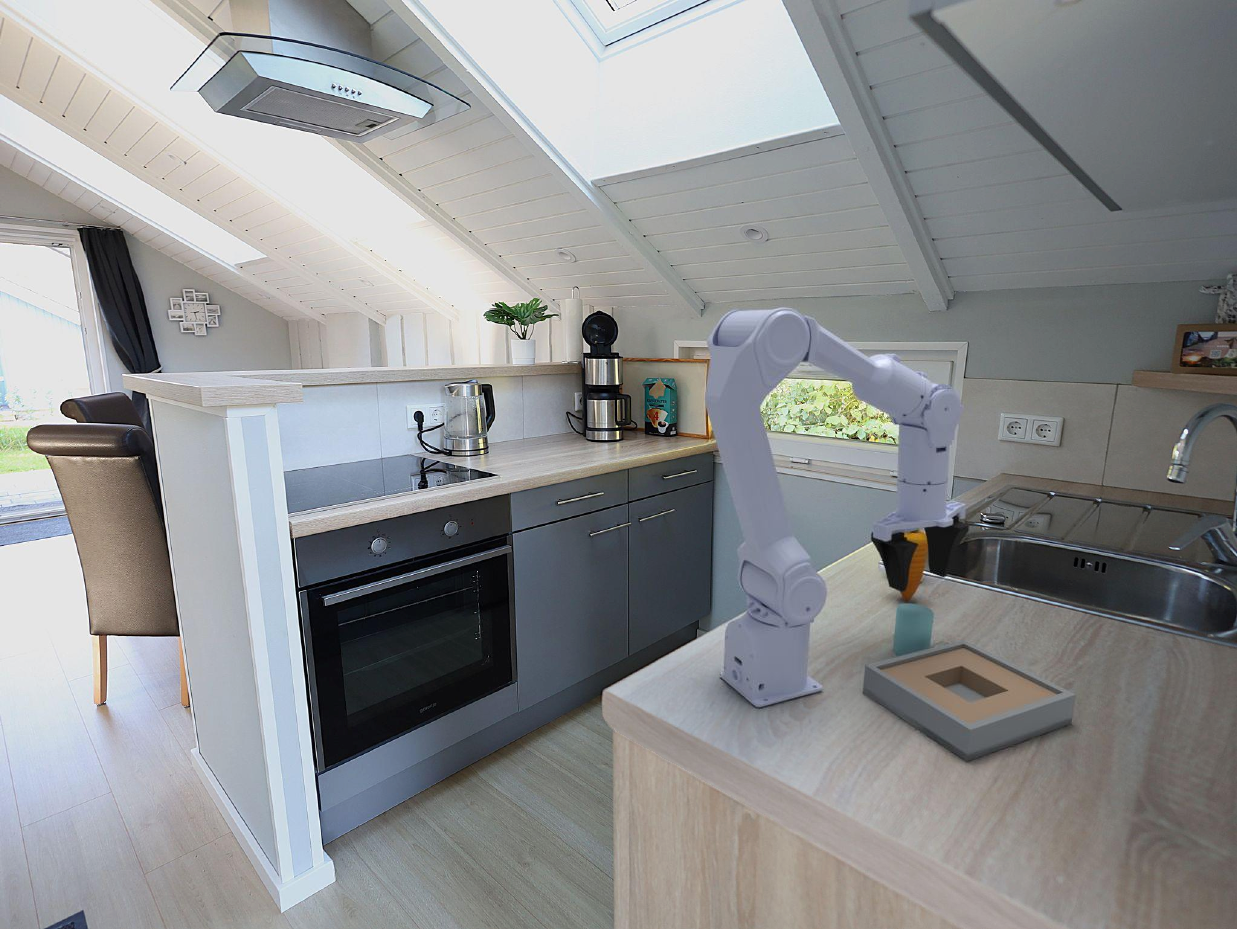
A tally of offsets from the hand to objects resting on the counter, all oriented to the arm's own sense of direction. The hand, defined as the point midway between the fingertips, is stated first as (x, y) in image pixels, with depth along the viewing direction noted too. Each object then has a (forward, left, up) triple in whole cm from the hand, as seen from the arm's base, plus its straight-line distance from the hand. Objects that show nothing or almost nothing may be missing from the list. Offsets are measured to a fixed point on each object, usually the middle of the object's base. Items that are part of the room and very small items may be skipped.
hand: (918, 581), depth 87 cm
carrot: (+13, +13, -10) cm, 21 cm away
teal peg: (0, 0, -10) cm, 10 cm away
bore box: (-5, -12, -10) cm, 16 cm away
